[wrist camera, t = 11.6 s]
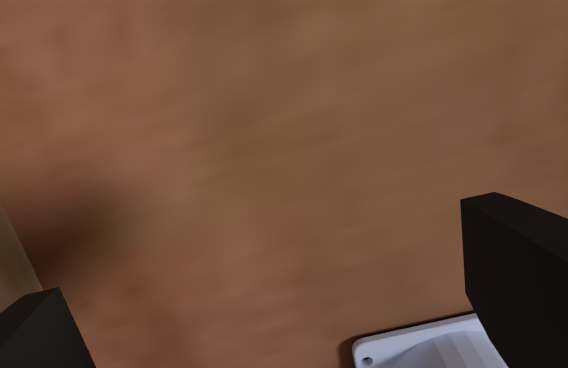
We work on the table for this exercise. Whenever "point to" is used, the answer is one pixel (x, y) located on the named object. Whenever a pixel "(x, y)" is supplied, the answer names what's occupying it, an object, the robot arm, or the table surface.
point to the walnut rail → (14, 266)
